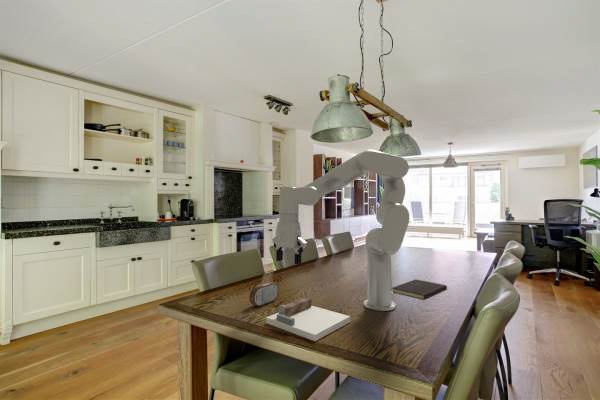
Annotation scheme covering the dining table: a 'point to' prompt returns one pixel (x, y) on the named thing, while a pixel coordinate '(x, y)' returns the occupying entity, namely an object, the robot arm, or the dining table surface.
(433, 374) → the dining table surface
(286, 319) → the white flat square panel
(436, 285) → the hardcover book
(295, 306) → the folding leg
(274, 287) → the tin
